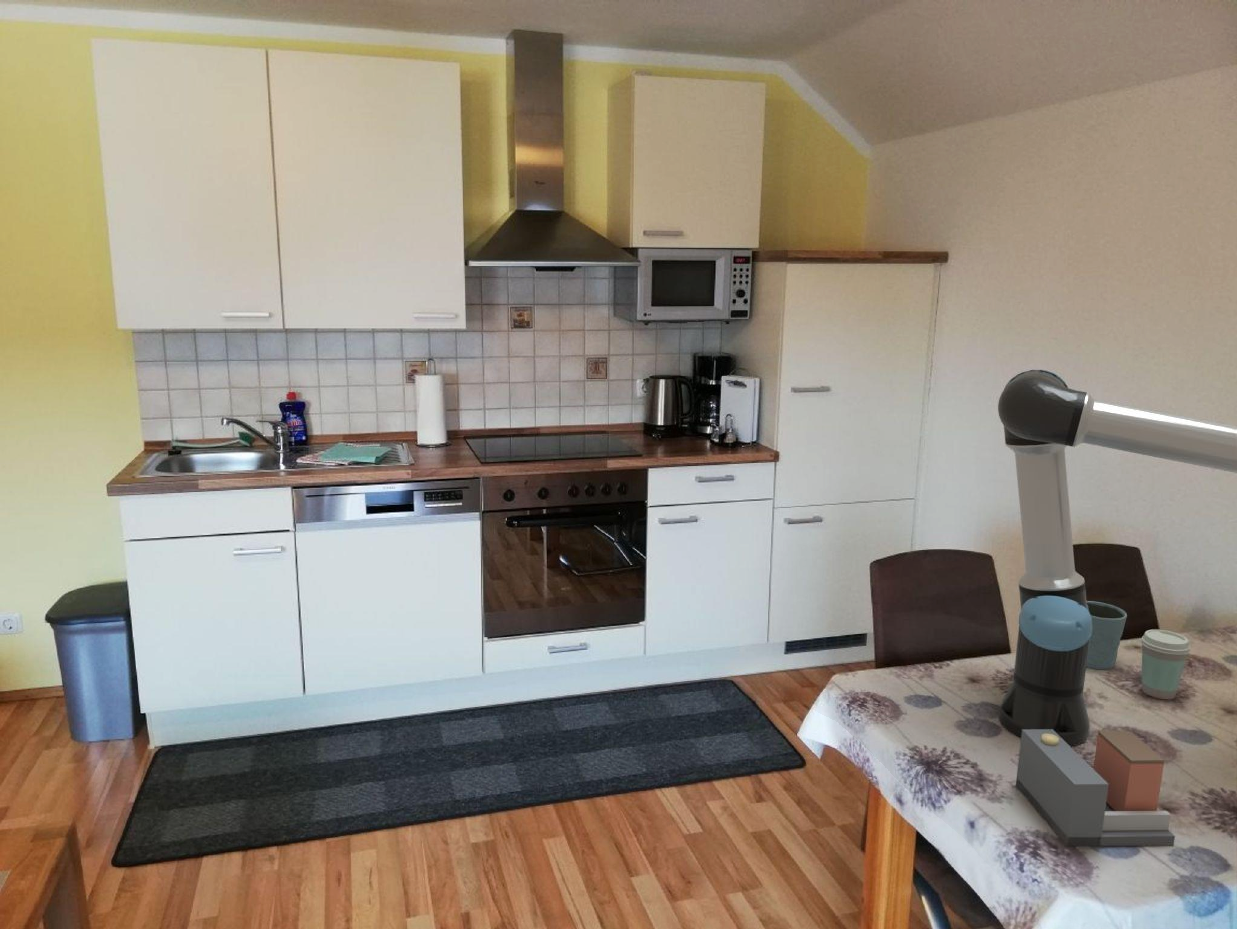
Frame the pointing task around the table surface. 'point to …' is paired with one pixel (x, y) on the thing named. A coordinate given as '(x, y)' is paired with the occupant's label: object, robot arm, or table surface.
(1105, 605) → the teal cup
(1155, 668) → the coffee cup
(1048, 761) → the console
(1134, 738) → the orange brown-topped block
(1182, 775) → the table surface
